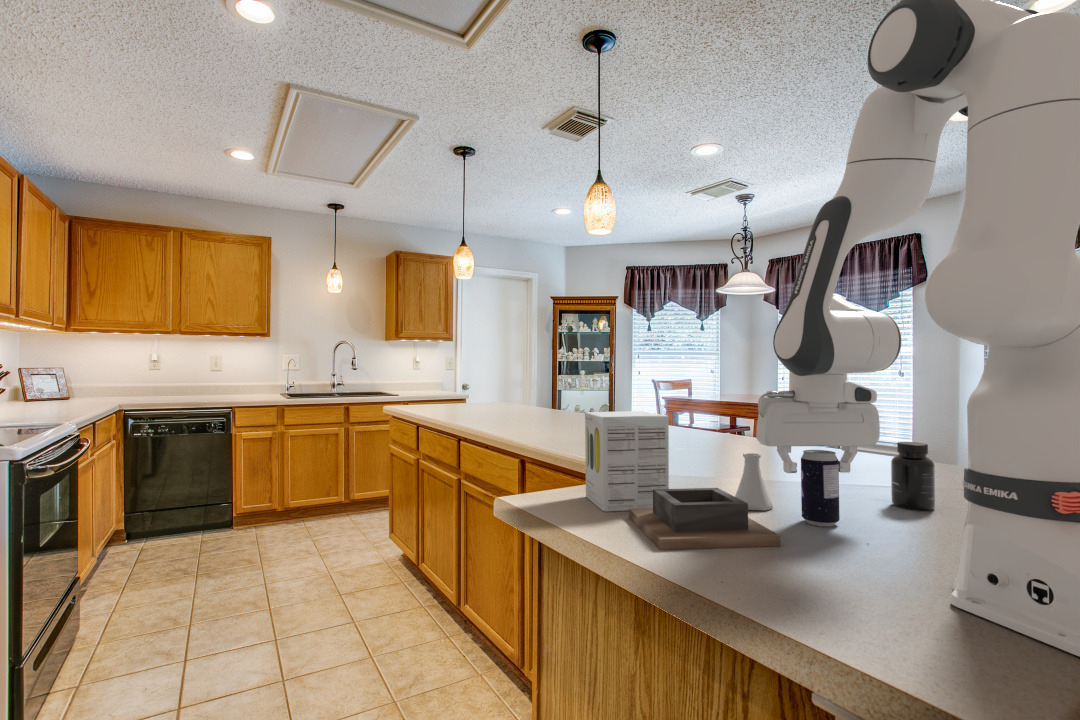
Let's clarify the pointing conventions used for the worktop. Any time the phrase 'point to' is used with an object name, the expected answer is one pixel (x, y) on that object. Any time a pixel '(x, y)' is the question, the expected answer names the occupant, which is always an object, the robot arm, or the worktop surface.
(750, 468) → the flask
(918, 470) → the supplement bottle
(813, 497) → the beverage can
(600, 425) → the supplement box
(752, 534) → the square holder on base
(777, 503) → the worktop surface
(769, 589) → the worktop surface
